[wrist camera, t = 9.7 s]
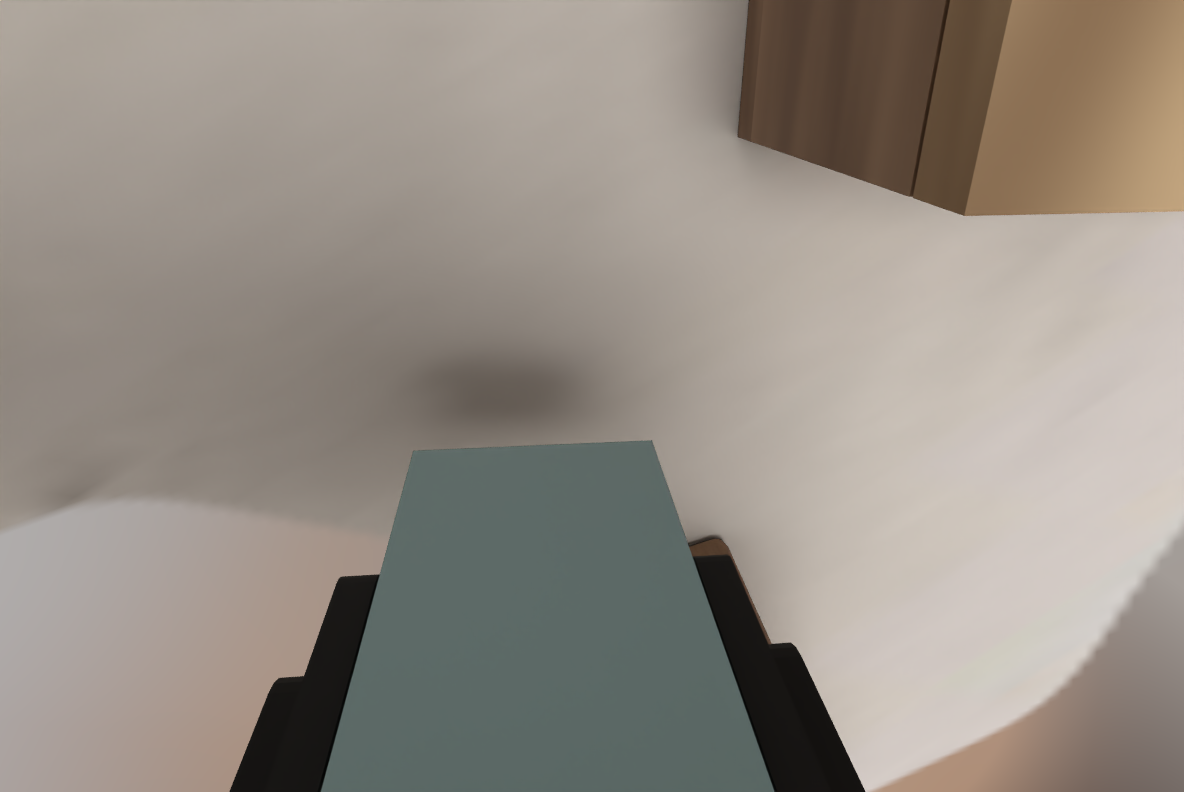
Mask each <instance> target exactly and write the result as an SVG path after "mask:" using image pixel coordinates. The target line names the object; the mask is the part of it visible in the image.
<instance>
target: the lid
mask: <svg viewBox="0 0 1184 792" xmlns="http://www.w3.org/2000/svg"><path fill="white" fill-rule="evenodd" d="M913 198H915V199H917V200H920V201H923V202H926V203H929V204H932V205H935V206H938V207H940V208H943V209H946V210H949V211H952V212H955V213H958V214H961V215H963V216H979V215H1026V214H1073V213H1121V212H1168V211H1184V0H950V3H949V9H948V14H947V19H946V25H945V30H944V35H943V41H942V46H941V51H940V56H939V62H938V67H937V72H936V78H935V83H934V88H933V93H932V99H931V104H930V109H929V115H928V120H927V125H926V130H925V136H924V141H923V146H922V152H921V157H920V162H919V168H918V173H917V178H916V183H915V189H914V194H913Z"/></svg>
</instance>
